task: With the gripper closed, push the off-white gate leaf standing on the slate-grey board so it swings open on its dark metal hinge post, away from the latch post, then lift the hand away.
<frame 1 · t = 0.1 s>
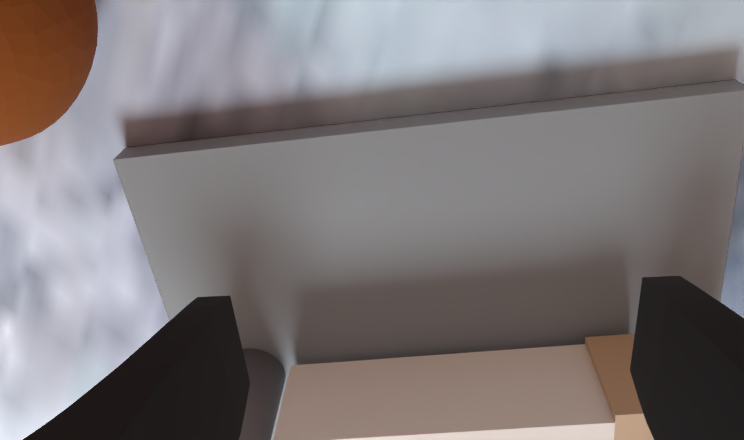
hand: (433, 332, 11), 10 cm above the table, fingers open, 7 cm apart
gate leaf: (462, 403, 21), point 3 cm above the table, hinge at 0.0°
gate frame: (439, 342, 24), on the table
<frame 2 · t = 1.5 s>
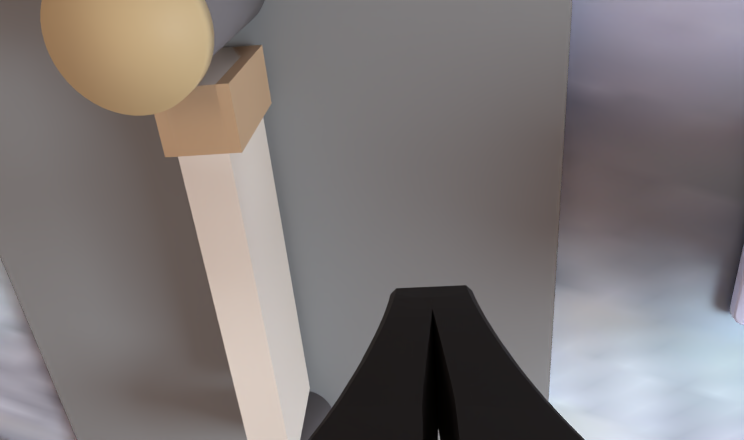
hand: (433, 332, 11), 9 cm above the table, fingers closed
gate leaf: (253, 274, 18), point 3 cm above the table, hinge at 0.0°
gate frame: (276, 236, 21), on the table
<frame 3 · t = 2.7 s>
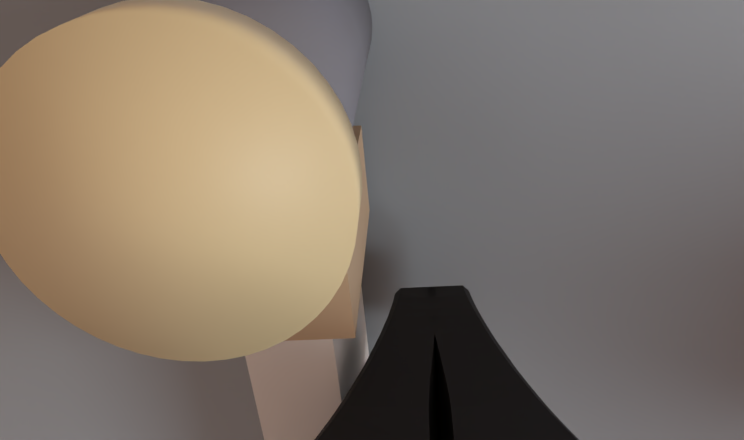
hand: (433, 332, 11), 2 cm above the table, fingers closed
gate frame: (353, 373, 15), on the table
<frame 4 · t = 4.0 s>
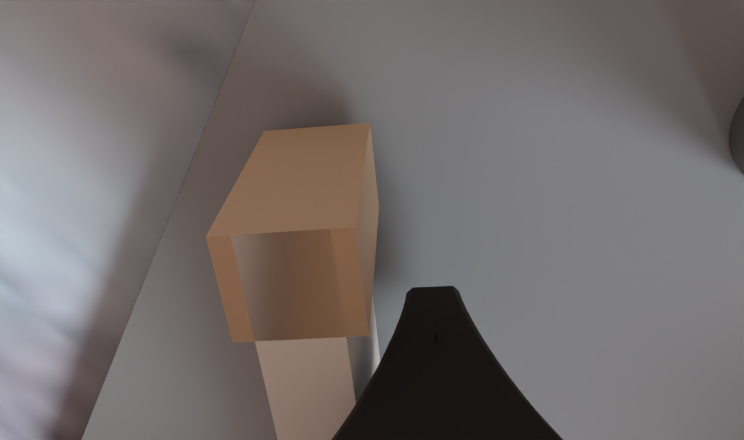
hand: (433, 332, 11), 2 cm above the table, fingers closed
gate frame: (523, 400, 15), on the table
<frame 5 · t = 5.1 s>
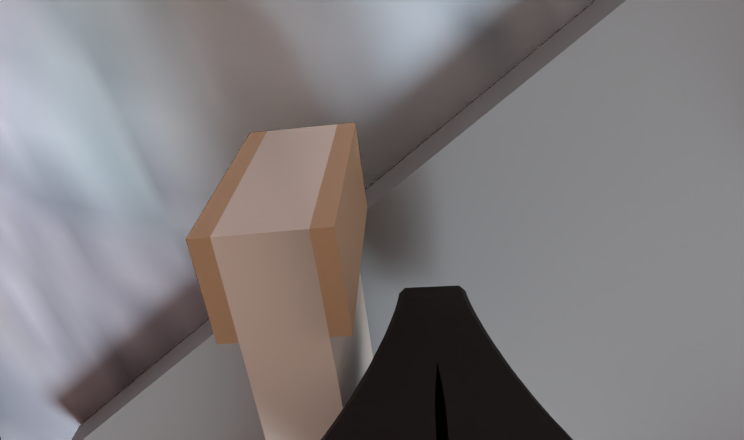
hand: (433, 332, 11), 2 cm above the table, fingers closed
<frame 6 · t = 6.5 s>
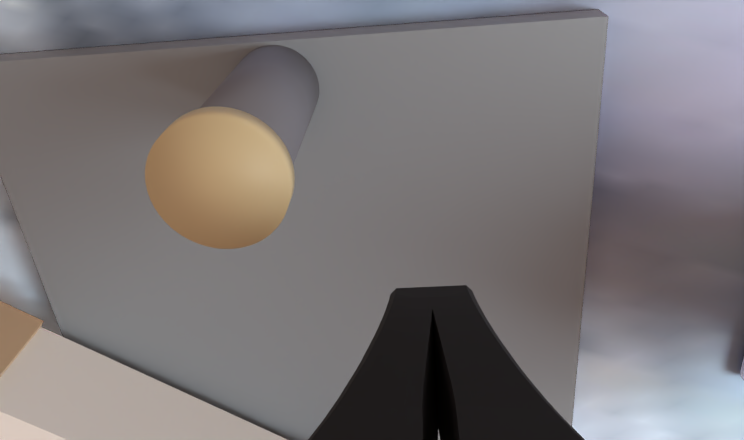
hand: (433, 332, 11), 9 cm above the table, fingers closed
gate leaf: (134, 429, 22), point 3 cm above the table, hinge at 53.9°
gate frame: (316, 304, 23), on the table
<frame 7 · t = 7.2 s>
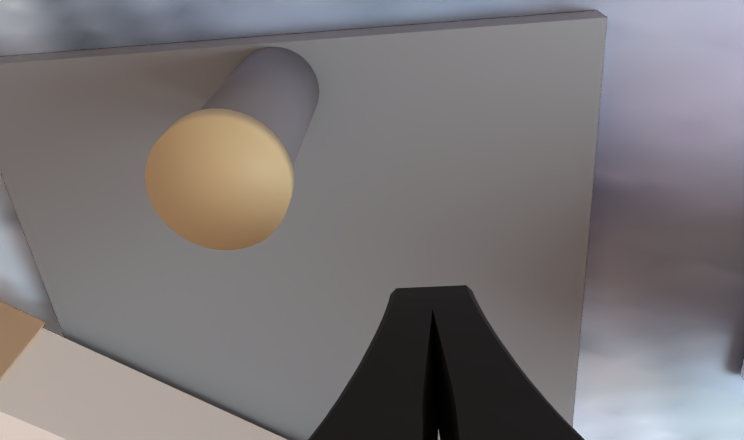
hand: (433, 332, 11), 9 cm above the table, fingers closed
gate leaf: (136, 429, 22), point 3 cm above the table, hinge at 53.9°
gate frame: (317, 305, 23), on the table
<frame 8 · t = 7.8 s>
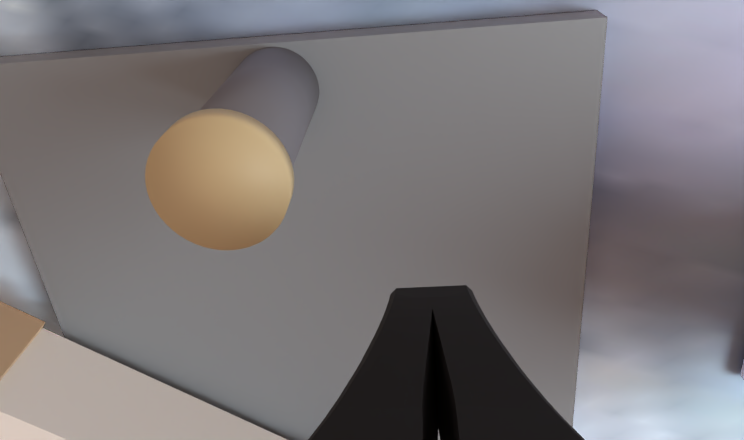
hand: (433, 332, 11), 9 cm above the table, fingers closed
gate leaf: (136, 429, 22), point 3 cm above the table, hinge at 53.9°
gate frame: (317, 305, 23), on the table
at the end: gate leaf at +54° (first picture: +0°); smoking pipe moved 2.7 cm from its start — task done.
